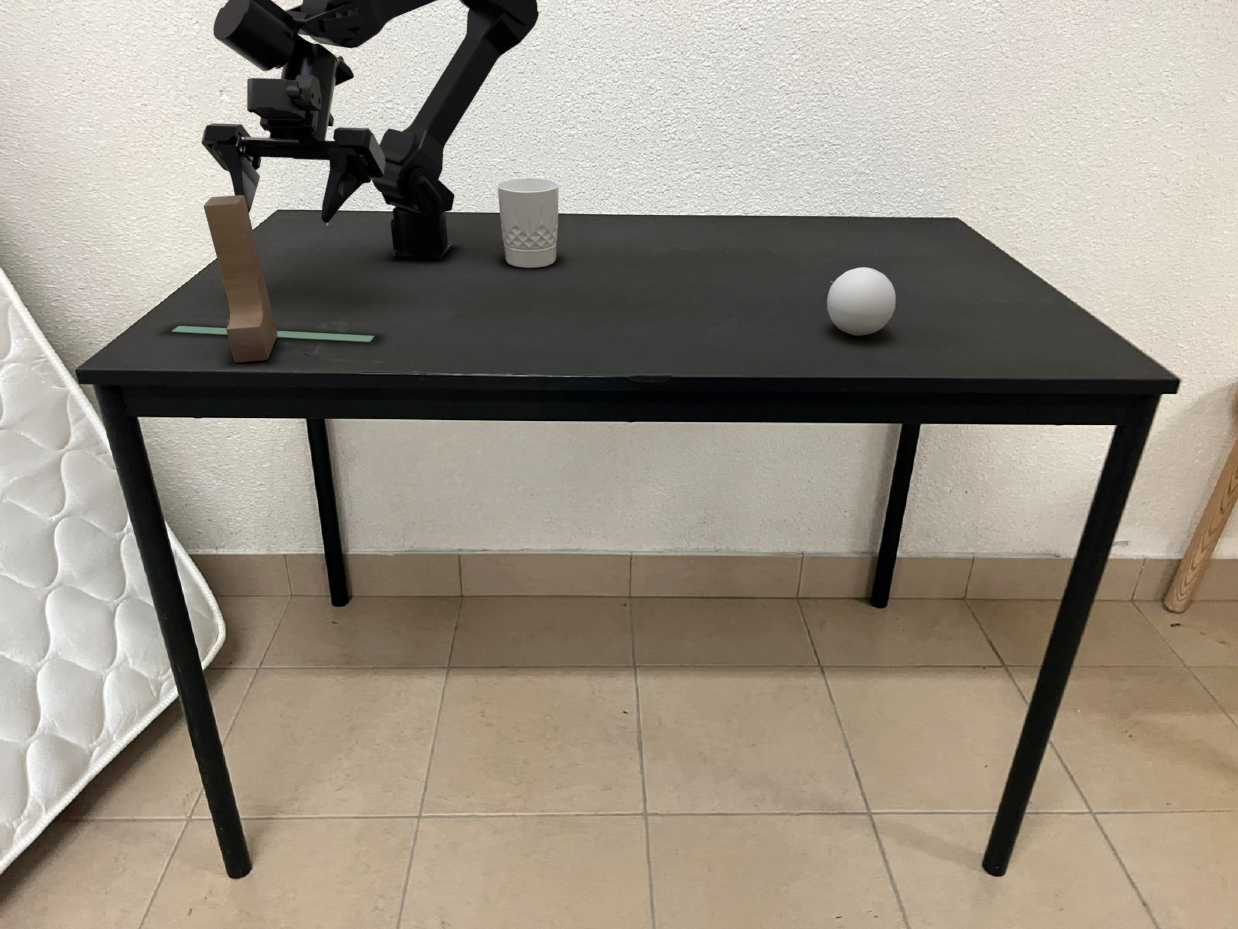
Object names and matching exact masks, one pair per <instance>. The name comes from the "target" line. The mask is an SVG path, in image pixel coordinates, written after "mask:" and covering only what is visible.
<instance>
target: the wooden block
mask: <svg viewBox="0 0 1238 929" xmlns="http://www.w3.org/2000/svg"><path fill="white" fill-rule="evenodd" d="M203 210H204V213H205V217H206V221H207V225H208V229H209V233H210V237H211V240H212V244H213V248H214V252H215V256H216V260H217V262H218V267H219V272H220V274H221V278H222V282H223V286H224V290H225V293H226V298H227V302H228V308H229V323H228V325H227V326H226V328H227V329H226V331H227V335H226V336H227V338H228V342H229V347H230V350H231V354H232V357H233V361H234V363H250V362H259V361H260V362H261V361H267V360H269V358H270V356H271V353H272V350H273V348H274V345H275V343H276V340H277V335H278V334H277V331H278V330H277V326H276V321H275V317H274V312H273V310H272V305H271V301H270V297H269V291H268V289H267V284H266V279H265V276H264V271H263V267H262V263H261V259H260V255H259V250H258V246H257V242H256V238H255V233H254V229H253V224H252V221H251V217H250V213H249V212H248V208H247V204H246V199H245V197H244V196H243V195H236V196H235V195H223V196H211V197H210V198H209V199H208V200H207V201H206V202H205V203H204V204H203Z"/></svg>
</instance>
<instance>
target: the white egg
mask: <svg viewBox="0 0 1238 929" xmlns="http://www.w3.org/2000/svg"><path fill="white" fill-rule="evenodd" d="M829 282H830V283H832V284H831V286H830V287H829V290H828V294H827V296H826V298H825V299H826V306H827V307H826V309H827V313H828V315H829V318H830V320H831V321H832V323H833V324H834V325H835V326H836V327H837V328H838V329H839V330H840V331H842V332H844V333H846V334H849V335H851V336H858V337H861V336H867V335H872V334H874V333H876V332H878V331H880V330H881V329H883V328H884V327H885V326H886V325H887V324H888V323H889V321H890V319H891V318H893V315H894V312H895V309H896V307H897V302H896V300H897V299H896V298H897V297H896V290H895V288H894V285H893V283H892V282H891V280H890V279H889V278H888V277H887V276H886V275H885V274H884V273H882V272H880V271H878V270H876V269H875V268H872V267H863V266H862V267H856V268H853V269H849V270H846V271H845V272H844V273H842V274H841V275H839V276H838V277H837V278H836V279H835V280H834V281H832V280H829Z"/></svg>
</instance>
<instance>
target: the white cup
mask: <svg viewBox="0 0 1238 929" xmlns="http://www.w3.org/2000/svg"><path fill="white" fill-rule="evenodd" d="M496 186H497V196H498V208H499V219H500V227H501V228H500V229H501V235H502V236H501V237H502V241H503V248H504V260H505V261H506V263H507V264H508V265H510V266H513V267H517V268H524V269H534V268H535V269H536V268H542V267H543V268H544V267H547V266H550V265H552V264H554V263H555V262H556V261H557V240H558V228H559V227H558V226H559V198H560V196H559V195H560V194H559V193H560V184H559V182H557V181H555V180H553V179H550V178H542V177H515V178H509V179H504V180H502V181H499V182H498V183H497V185H496Z"/></svg>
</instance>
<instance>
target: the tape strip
mask: <svg viewBox="0 0 1238 929" xmlns="http://www.w3.org/2000/svg"><path fill="white" fill-rule="evenodd" d="M226 329H227V327H210V326H209V327H208V326H207V327H205V326H187V325H178V326H176V327H175V328H173V329H172V330H171V332H170V333H179V334H196V335H197V334H199V335H201V334H202V335H218V336H228V335H227V331H226ZM277 334H278V335H277V338H278V339H292V340H293V339H294V340H298V339H299V340H318V341H331V342H332V341H335V342H336V341H337V342H353V343H371V342H372V340H373V339H374V338H375V335H363V334H346V333H345V334H343V333H325V332H324V333H323V332H308V331H307V332H306V331H289V330H288V331H286V330H284V331H283V330H277ZM277 338H276V339H277Z"/></svg>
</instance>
